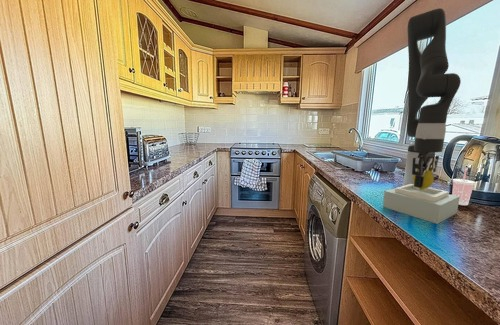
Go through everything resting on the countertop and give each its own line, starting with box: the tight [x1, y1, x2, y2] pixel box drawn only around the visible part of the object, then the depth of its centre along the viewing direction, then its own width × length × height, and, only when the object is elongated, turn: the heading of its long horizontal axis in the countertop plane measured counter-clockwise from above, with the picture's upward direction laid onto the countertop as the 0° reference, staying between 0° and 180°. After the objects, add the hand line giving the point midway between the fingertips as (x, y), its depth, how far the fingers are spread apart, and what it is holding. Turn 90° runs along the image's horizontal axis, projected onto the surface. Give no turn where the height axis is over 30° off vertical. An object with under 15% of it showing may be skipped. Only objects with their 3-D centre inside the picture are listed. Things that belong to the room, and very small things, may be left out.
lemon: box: [413, 170, 435, 190], centre depth 74 cm, size 6×6×8 cm
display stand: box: [382, 184, 460, 225], centre depth 75 cm, size 16×16×7 cm
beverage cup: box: [451, 167, 476, 206], centre depth 81 cm, size 6×6×14 cm
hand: (422, 185), depth 74 cm, fingers closed on lemon, 5 cm apart
